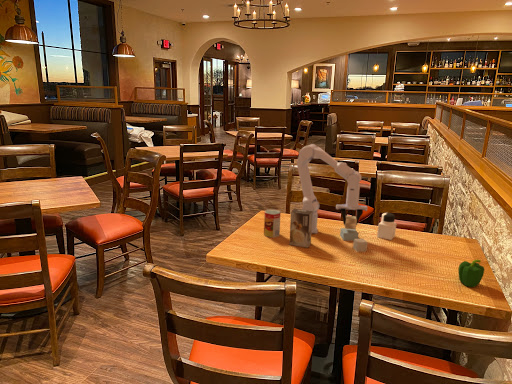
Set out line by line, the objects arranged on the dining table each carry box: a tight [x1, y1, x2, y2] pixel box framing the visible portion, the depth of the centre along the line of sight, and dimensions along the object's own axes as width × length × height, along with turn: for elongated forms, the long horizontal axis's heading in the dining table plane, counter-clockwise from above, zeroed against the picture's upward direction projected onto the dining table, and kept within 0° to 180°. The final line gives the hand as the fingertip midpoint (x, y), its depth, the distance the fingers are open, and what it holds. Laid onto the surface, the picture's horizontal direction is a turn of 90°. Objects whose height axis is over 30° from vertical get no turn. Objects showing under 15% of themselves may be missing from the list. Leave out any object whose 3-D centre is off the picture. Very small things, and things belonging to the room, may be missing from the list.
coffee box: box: [289, 208, 312, 248], centre depth 172 cm, size 9×6×16 cm
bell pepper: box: [457, 259, 485, 288], centre depth 139 cm, size 8×8×10 cm
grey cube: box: [352, 238, 368, 253], centre depth 169 cm, size 4×4×4 cm
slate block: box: [339, 227, 359, 242], centre depth 183 cm, size 7×7×4 cm
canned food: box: [263, 208, 281, 238], centre depth 184 cm, size 8×8×12 cm
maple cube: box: [343, 215, 358, 230], centre depth 181 cm, size 5×5×5 cm
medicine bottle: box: [376, 212, 397, 241], centre depth 185 cm, size 7×7×12 cm
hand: (350, 223), depth 182 cm, fingers closed on maple cube, 5 cm apart
